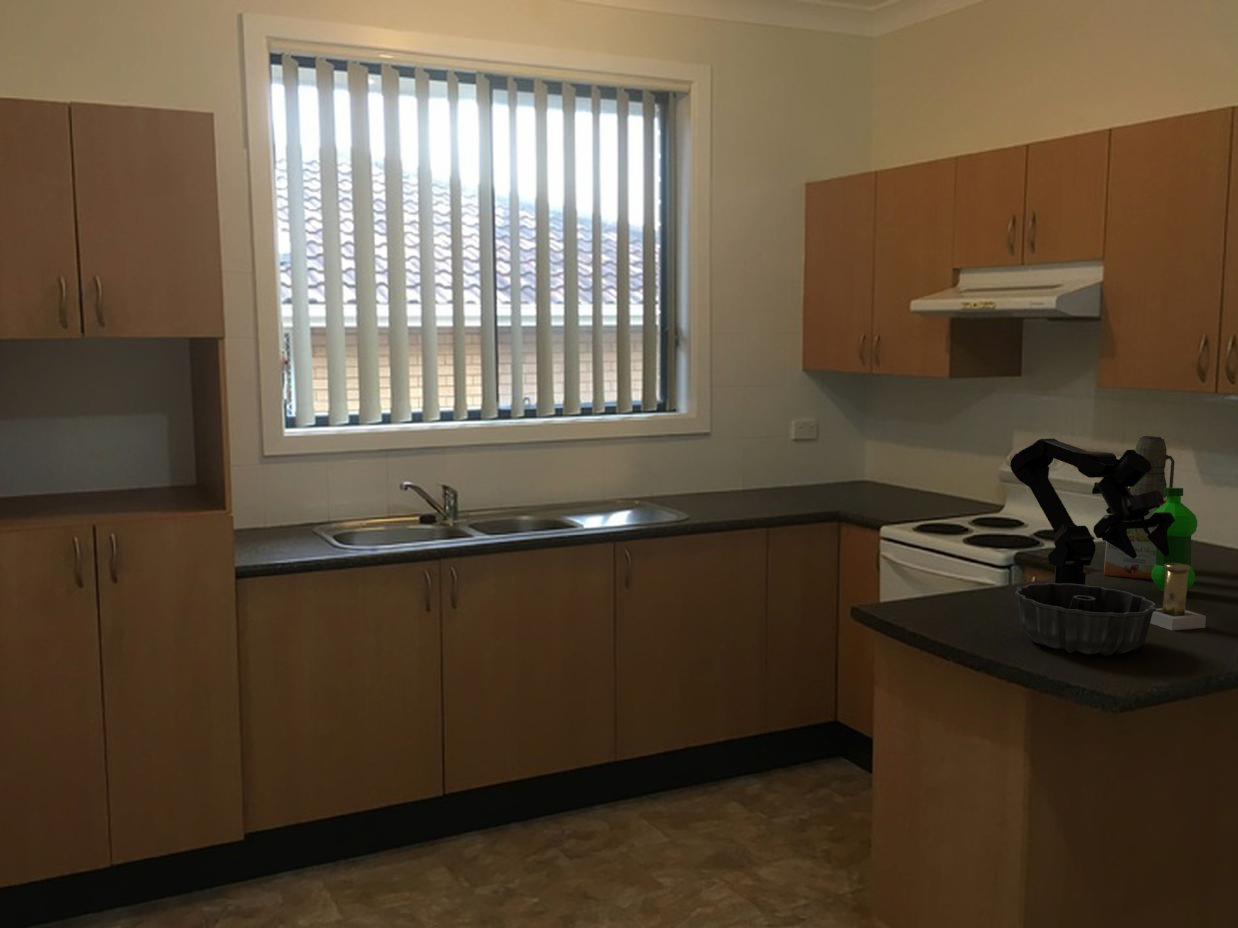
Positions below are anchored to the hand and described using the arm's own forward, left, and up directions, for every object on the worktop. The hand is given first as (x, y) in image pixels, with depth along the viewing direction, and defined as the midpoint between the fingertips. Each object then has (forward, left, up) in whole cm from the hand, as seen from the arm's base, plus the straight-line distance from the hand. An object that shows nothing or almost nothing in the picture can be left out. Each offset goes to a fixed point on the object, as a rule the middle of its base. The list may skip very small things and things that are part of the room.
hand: (1151, 556), depth 263 cm
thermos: (+3, +57, -13) cm, 59 cm away
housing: (+5, -7, -13) cm, 15 cm away
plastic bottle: (+8, +27, -13) cm, 31 cm away
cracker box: (0, +43, -14) cm, 45 cm away
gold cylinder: (+5, -7, -13) cm, 15 cm away
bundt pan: (-14, -33, -14) cm, 38 cm away
